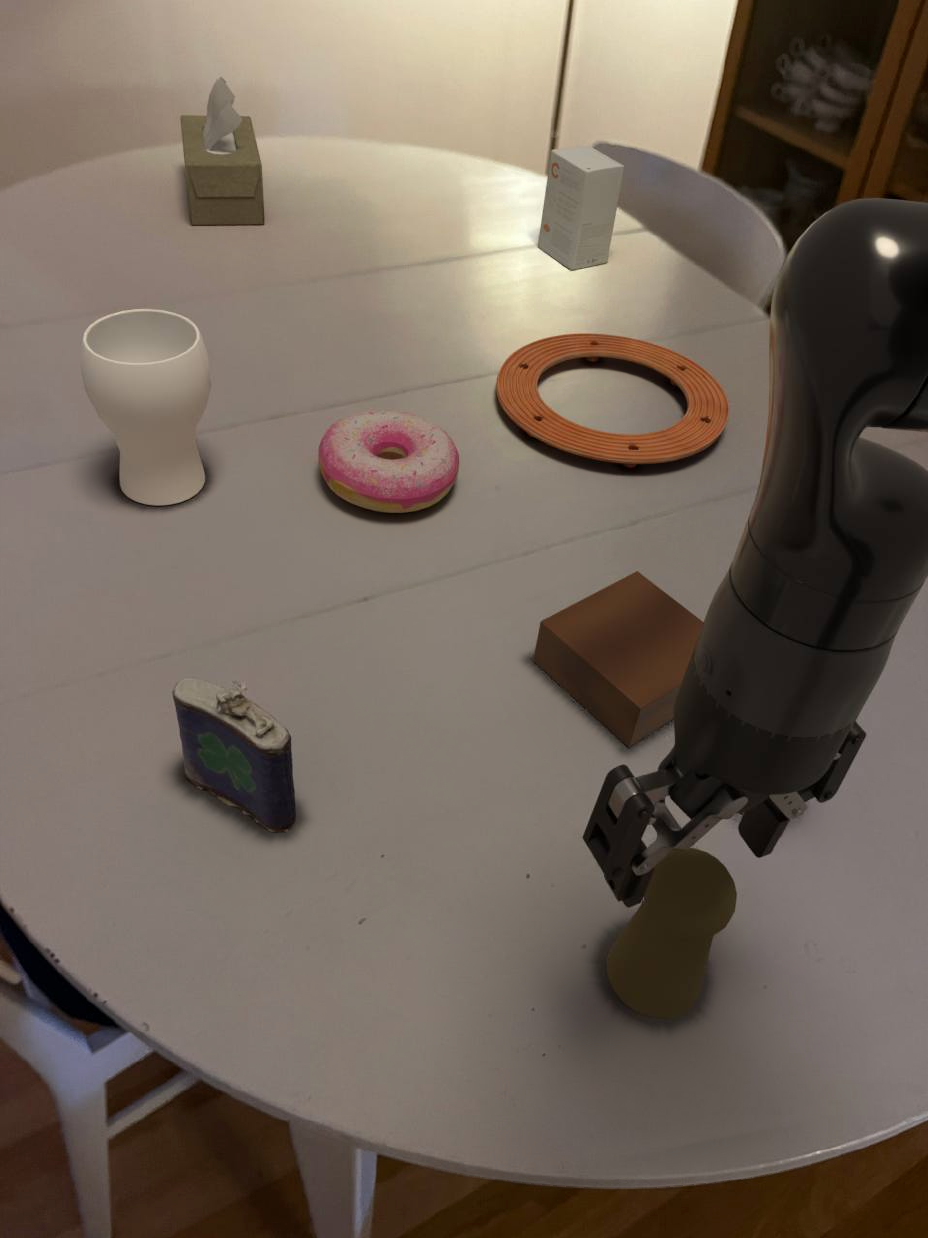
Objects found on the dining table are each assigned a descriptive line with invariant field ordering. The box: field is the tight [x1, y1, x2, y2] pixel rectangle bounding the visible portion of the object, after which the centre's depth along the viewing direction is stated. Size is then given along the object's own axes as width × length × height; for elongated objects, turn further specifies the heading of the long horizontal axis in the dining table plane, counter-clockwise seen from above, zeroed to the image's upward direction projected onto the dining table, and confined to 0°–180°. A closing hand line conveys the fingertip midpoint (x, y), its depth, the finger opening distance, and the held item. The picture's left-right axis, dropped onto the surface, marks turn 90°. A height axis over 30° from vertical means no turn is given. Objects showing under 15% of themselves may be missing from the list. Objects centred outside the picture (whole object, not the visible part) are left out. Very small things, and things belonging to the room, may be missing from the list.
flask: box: [171, 677, 298, 833], centre depth 67 cm, size 9×3×11 cm, turn 58°
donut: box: [317, 409, 460, 514], centre depth 97 cm, size 14×13×5 cm
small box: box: [537, 144, 625, 271], centre depth 135 cm, size 8×6×13 cm
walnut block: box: [532, 570, 704, 748], centre depth 81 cm, size 11×11×4 cm
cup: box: [80, 308, 212, 506], centre depth 91 cm, size 11×11×15 cm
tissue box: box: [179, 76, 266, 226], centre depth 138 cm, size 19×10×16 cm, turn 13°
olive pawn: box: [606, 847, 738, 1019], centre depth 60 cm, size 6×6×11 cm
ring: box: [495, 332, 731, 468], centre depth 111 cm, size 25×25×2 cm
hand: (689, 867), depth 56 cm, fingers open, 8 cm apart
